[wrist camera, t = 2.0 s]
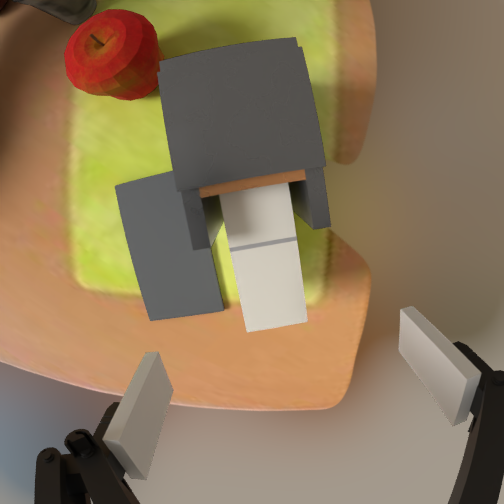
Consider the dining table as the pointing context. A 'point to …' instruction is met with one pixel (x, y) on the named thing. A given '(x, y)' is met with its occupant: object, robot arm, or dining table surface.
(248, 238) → the white rectangular block
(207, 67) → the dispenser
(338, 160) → the dining table surface
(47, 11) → the beverage cup
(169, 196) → the mat
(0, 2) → the potato
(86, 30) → the apple
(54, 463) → the robot arm
